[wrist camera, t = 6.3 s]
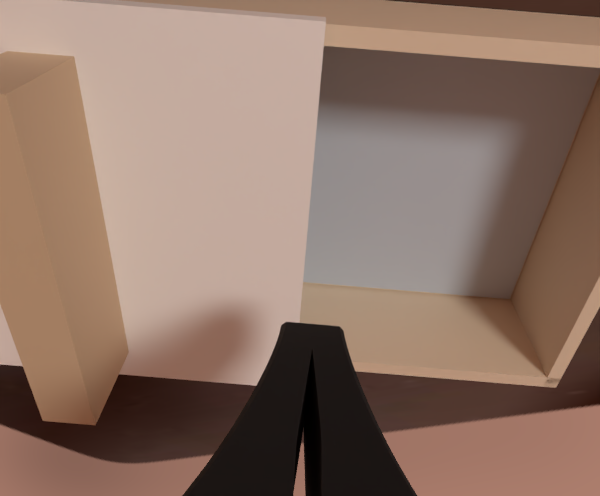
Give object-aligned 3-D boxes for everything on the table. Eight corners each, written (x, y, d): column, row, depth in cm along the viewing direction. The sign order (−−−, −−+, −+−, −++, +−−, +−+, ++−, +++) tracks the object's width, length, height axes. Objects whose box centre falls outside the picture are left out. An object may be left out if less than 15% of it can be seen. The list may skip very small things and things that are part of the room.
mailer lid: (326, 17, 12) (325, 52, 9) (294, 375, 18) (287, 464, 16) (-370, -39, 12) (-612, -23, 9) (-139, 340, 19) (-229, 421, 16)
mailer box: (629, 20, 16) (734, 57, 12) (514, 301, 23) (555, 387, 19) (139, -20, 16) (73, 3, 12) (169, 273, 23) (134, 352, 19)
